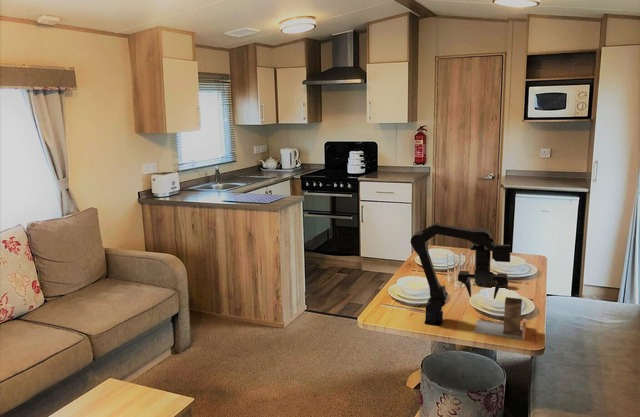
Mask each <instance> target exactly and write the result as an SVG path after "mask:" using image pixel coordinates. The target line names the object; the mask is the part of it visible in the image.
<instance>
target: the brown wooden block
mask: <svg viewBox="0 0 640 417" xmlns="http://www.w3.org/2000/svg"><path fill="white" fill-rule="evenodd" d="M522 304H523V299H522V298H515V297H507V296H505V301H504V314H503V316H504V317H503V324H504V329H503V334H510V335H517V336H520V326H521V320H522V319H521V318H522Z"/></svg>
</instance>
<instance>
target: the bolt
mask: <svg viewBox="0 0 640 417" xmlns="http://www.w3.org/2000/svg"><path fill="white" fill-rule="evenodd" d="M475 285H476V286H483V287H484V288H488V286H489V287H491V286H493V287H495V286H496V281H490V282H489V281H488V284H487V285H484V284H476V283H475ZM501 287H504V288H508V289H509V279H508V280H507V285H504V286H501ZM501 287H500V288H501Z"/></svg>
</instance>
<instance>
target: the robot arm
mask: <svg viewBox="0 0 640 417" xmlns="http://www.w3.org/2000/svg"><path fill="white" fill-rule="evenodd" d="M436 235H440V236H445V237H451V238H457V239H460V240H465V241H468V242H470V243H472V245H471V246H470V250H471V251H475V252H474V256H475V258H474V259H475V260H474V262H475V263H474V267H475V268H474V273H470V271H469V270H468V271H467V270H460V271H459V272H458V274H457V281H458V282H461V284H464V286H465V287H466V291H467V293H468V295H469V297H470V298H471V297H472V285H471V280H474V283H475V285H476V284H484V285H487V284H488V281H489V282H490V281H496V286H494V292H493V300H496V298H497V294H498V292H499V290H500V289H501V286H504V285H507V280H508V281H509V279H508V274H507V273H501V272H500V273H499V272H497V274H496V275H494V271H491V259H492V260H493V261H494V262H499V263H510V262H511V250H510V249H511V245H510V244H496V241H495V240H494V239H493V237H492V235H491V232H490V230H489V229H487V228H484V227H483V228H482V227H480V228H479V227H476V228H475V227H473V228H464V227H459V226H453V225H448V224H441V223H439V222H434V223H432V224H431V225H430V226H427V227H426V228H423V230H421V231H416V232H415V233H413V235H412V237H411V238H410V245H411V247H412V248H413V250H414V252H415V253H416V254H417V256H418V257H419V261H420V264H421V266H422V269H423V272H424V275H425V277H426V281H427V284H428V286H429V298H428V300H427V302H426V305H425V320H424V324H426V325H431V326H441V324H442V323H443V321H444V311H443V307H445V305H446V301H447V297H448V291H447V288H446V286H445V285H441V284H440V281H439V280H438V275H437V274H436V273H437V272H436V270H435V266H434V263H433V261H432V258H431V255H430V252H429V242H428V241H429V240H430V239H431V238H433V237H434V236H436ZM487 286H488V285H487Z"/></svg>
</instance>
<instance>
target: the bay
mask: <svg viewBox="0 0 640 417" xmlns="http://www.w3.org/2000/svg"><path fill="white" fill-rule="evenodd" d="M503 329H504V323H500V322H495V321H494V322H493V321H486V320H481V319H480V320H479V319H477V320H476V324H475V328H474V331H473V333H475V334H483V335H489V336H494V337H495V336H496V337H503V338H509V339H515V340H521V341H526V331H527V330H526V329H527V318H523V319H522V326H521V325H520V336H517V335H510V334H503Z"/></svg>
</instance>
